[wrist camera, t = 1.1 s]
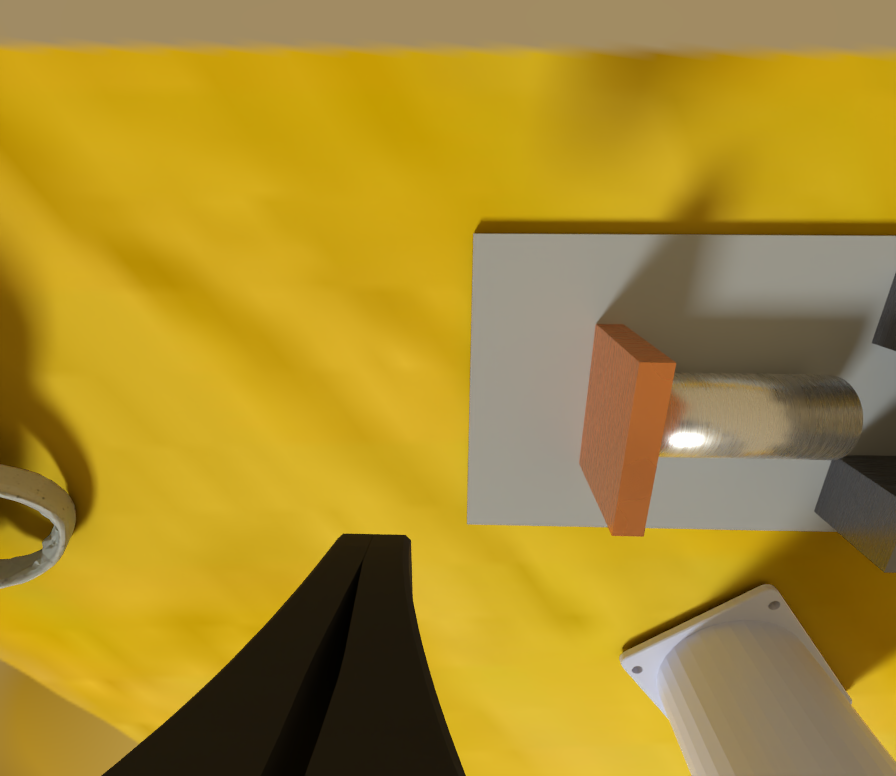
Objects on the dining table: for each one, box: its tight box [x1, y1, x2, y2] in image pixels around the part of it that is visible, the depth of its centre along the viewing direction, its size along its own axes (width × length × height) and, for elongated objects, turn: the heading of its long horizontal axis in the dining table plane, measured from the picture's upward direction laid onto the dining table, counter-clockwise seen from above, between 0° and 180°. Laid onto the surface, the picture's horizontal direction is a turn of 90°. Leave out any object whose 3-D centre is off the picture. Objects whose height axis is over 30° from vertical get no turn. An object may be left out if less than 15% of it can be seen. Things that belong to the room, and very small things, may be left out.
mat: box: [467, 233, 896, 532], centre depth 18 cm, size 22×12×1 cm, turn 90°
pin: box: [579, 324, 863, 536], centre depth 16 cm, size 8×6×4 cm
